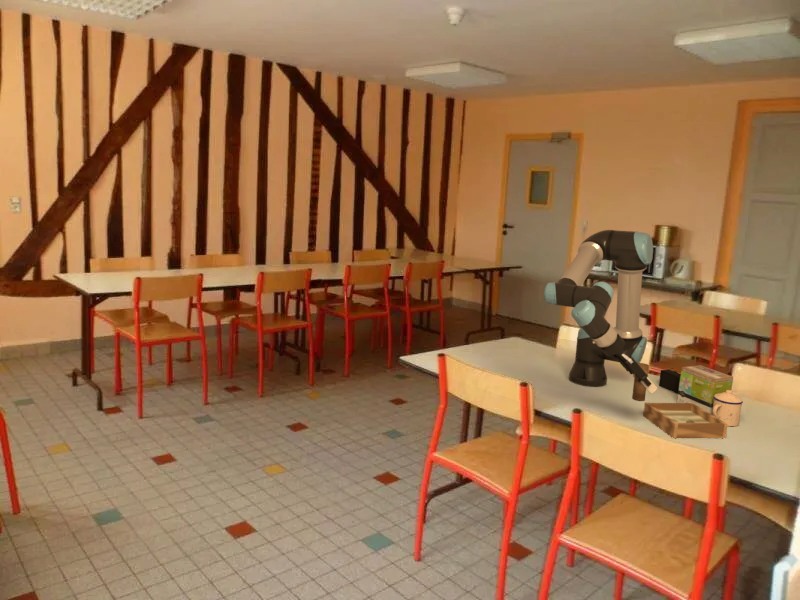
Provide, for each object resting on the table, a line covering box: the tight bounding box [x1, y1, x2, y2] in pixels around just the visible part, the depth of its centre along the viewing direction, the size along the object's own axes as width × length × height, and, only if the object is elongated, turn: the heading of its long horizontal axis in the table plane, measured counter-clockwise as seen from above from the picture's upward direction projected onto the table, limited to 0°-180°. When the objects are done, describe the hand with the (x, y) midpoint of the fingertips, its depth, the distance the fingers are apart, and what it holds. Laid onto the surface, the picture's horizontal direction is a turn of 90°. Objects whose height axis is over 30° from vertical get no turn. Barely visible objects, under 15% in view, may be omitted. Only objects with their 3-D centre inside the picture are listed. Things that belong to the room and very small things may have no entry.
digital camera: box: [658, 369, 681, 395], centre depth 253 cm, size 10×5×7 cm, turn 21°
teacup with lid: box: [712, 389, 744, 427], centre depth 217 cm, size 12×9×12 cm
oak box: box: [642, 402, 728, 439], centre depth 211 cm, size 20×18×5 cm
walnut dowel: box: [631, 362, 650, 402], centre depth 207 cm, size 4×4×12 cm
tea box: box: [676, 364, 734, 415], centre depth 230 cm, size 15×10×15 cm
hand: (650, 388), depth 208 cm, fingers closed on walnut dowel, 4 cm apart
